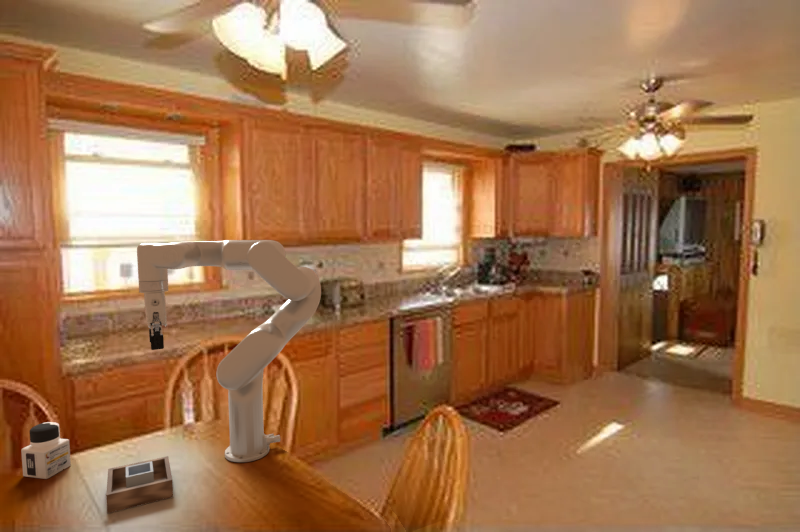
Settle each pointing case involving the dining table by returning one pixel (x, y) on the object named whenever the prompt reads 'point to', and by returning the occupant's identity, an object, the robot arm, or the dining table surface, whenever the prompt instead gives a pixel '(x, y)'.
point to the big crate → (141, 494)
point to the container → (45, 452)
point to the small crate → (139, 474)
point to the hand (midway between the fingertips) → (156, 345)
